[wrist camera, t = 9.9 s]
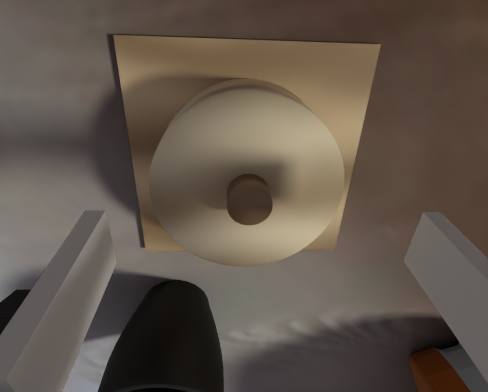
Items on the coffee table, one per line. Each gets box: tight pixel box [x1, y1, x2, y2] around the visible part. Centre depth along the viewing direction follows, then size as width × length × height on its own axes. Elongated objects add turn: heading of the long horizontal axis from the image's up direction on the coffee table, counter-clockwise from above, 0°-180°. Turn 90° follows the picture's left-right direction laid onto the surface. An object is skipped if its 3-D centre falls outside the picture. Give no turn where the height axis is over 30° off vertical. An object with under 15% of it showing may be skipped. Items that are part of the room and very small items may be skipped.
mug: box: [98, 280, 224, 392], centre depth 25 cm, size 8×12×10 cm
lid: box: [149, 79, 344, 266], centre depth 19 cm, size 11×11×6 cm
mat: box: [113, 35, 381, 251], centre depth 22 cm, size 15×15×1 cm
